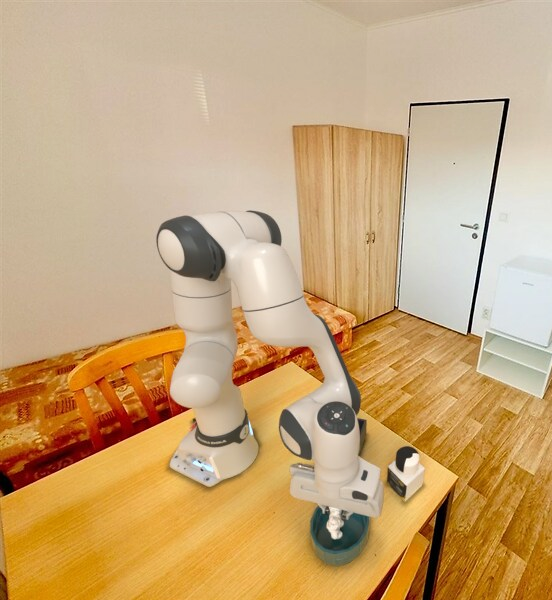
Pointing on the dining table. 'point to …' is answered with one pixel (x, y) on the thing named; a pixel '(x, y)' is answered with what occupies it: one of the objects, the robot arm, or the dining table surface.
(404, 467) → the medicine bottle
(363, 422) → the bin
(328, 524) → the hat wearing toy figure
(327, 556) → the bowl
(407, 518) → the dining table surface
